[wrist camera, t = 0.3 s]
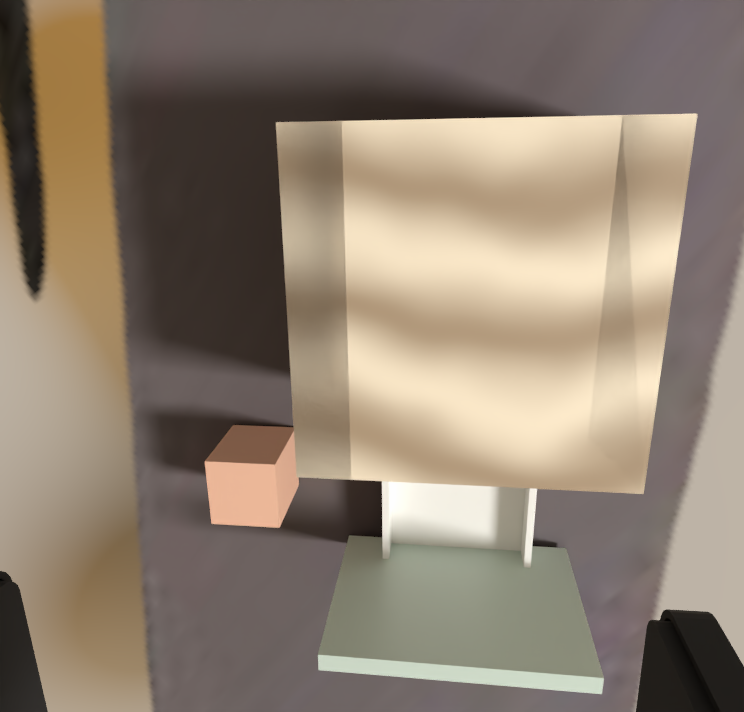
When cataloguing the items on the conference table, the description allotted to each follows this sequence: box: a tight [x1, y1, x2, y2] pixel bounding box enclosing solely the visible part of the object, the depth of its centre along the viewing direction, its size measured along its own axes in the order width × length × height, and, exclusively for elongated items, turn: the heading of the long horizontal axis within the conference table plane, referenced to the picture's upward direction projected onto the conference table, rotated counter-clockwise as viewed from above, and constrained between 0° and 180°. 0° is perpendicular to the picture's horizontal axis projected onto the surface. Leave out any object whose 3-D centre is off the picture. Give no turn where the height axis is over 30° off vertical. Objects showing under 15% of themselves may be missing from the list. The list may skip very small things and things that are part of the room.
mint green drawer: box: [318, 481, 604, 694], centre depth 41 cm, size 17×17×12 cm
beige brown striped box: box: [276, 114, 697, 494], centre depth 36 cm, size 18×18×14 cm
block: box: [205, 425, 299, 528], centre depth 46 cm, size 5×5×6 cm
